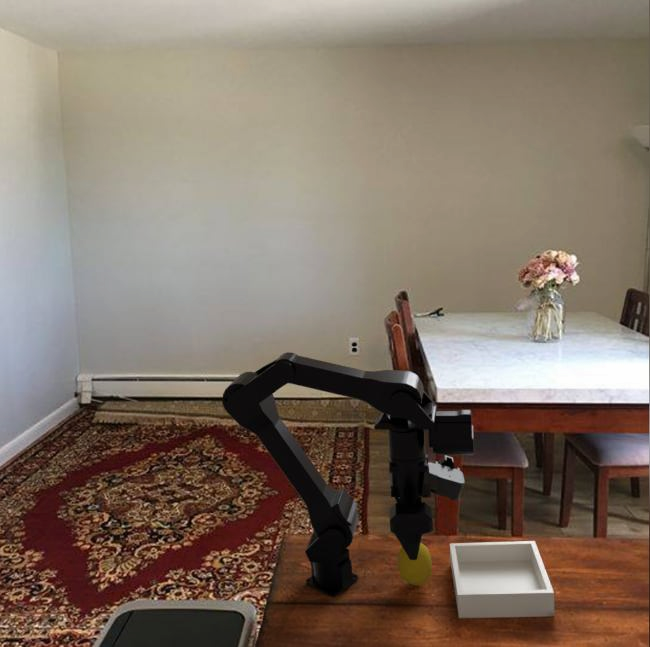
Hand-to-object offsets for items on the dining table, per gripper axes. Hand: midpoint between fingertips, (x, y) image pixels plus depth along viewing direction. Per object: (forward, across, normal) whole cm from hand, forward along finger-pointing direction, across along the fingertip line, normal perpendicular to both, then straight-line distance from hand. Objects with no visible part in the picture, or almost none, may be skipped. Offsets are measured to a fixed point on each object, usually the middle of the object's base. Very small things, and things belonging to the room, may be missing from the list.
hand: (412, 543), depth 112 cm
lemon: (+8, 0, 0) cm, 8 cm away
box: (+8, -1, -13) cm, 15 cm away
